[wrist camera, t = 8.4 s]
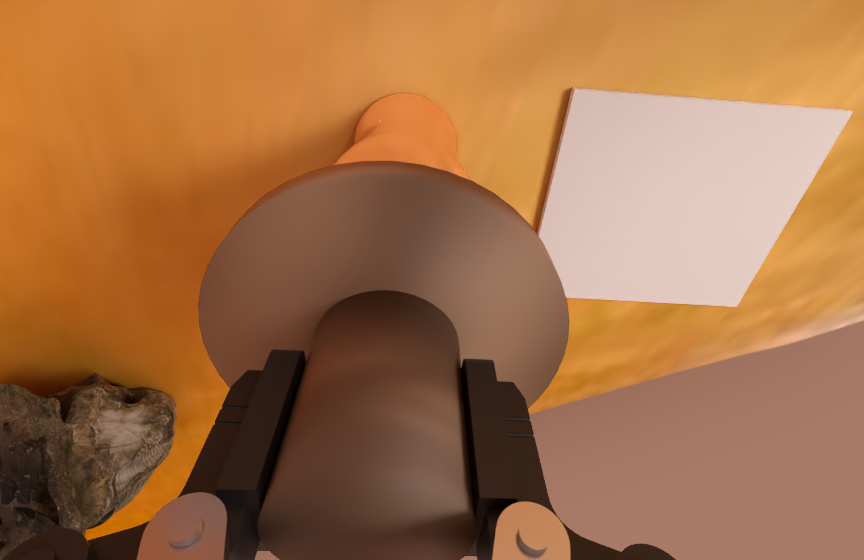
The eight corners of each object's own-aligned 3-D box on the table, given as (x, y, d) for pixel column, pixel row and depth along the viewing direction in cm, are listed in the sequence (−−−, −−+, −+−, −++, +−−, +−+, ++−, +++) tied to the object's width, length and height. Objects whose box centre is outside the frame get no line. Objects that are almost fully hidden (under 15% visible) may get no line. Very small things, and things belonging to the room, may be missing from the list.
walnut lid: (603, 173, 11) (759, 351, 6) (524, 434, 16) (567, 636, 11) (171, 147, 10) (-73, 317, 5) (246, 425, 16) (165, 632, 11)
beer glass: (483, 109, 25) (539, 241, 13) (441, 214, 29) (454, 395, 17) (362, 65, 24) (297, 166, 11) (335, 181, 27) (263, 353, 15)
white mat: (845, 109, 25) (852, 111, 25) (732, 302, 33) (736, 306, 33) (572, 87, 24) (574, 89, 24) (523, 291, 32) (524, 295, 32)
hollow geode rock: (4, 428, 48) (14, 579, 45) (-187, 458, 36) (-193, 666, 33) (204, 352, 41) (234, 524, 38) (47, 357, 29) (70, 611, 26)
